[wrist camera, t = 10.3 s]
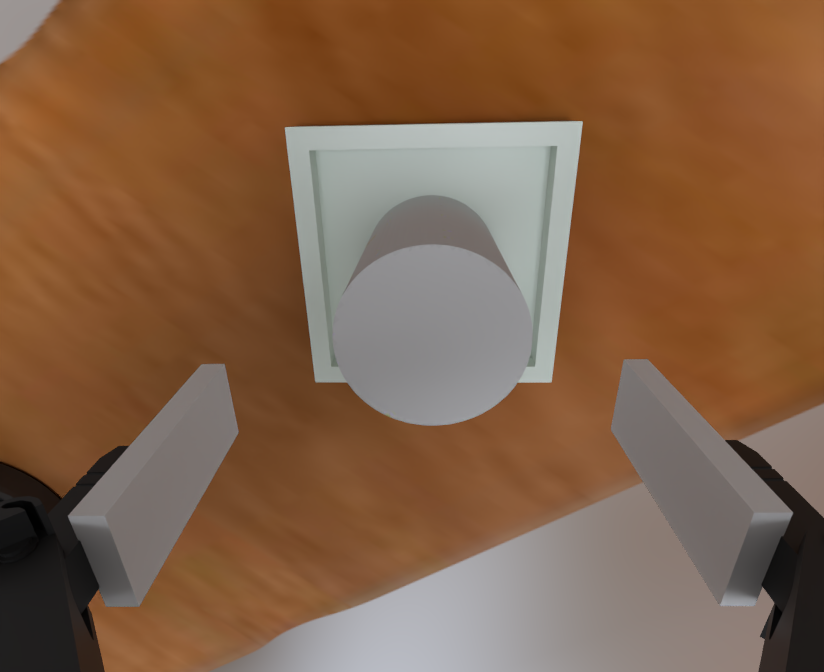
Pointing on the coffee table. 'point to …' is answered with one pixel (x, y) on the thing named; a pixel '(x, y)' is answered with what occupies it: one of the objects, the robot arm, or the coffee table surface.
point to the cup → (432, 317)
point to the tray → (443, 176)
